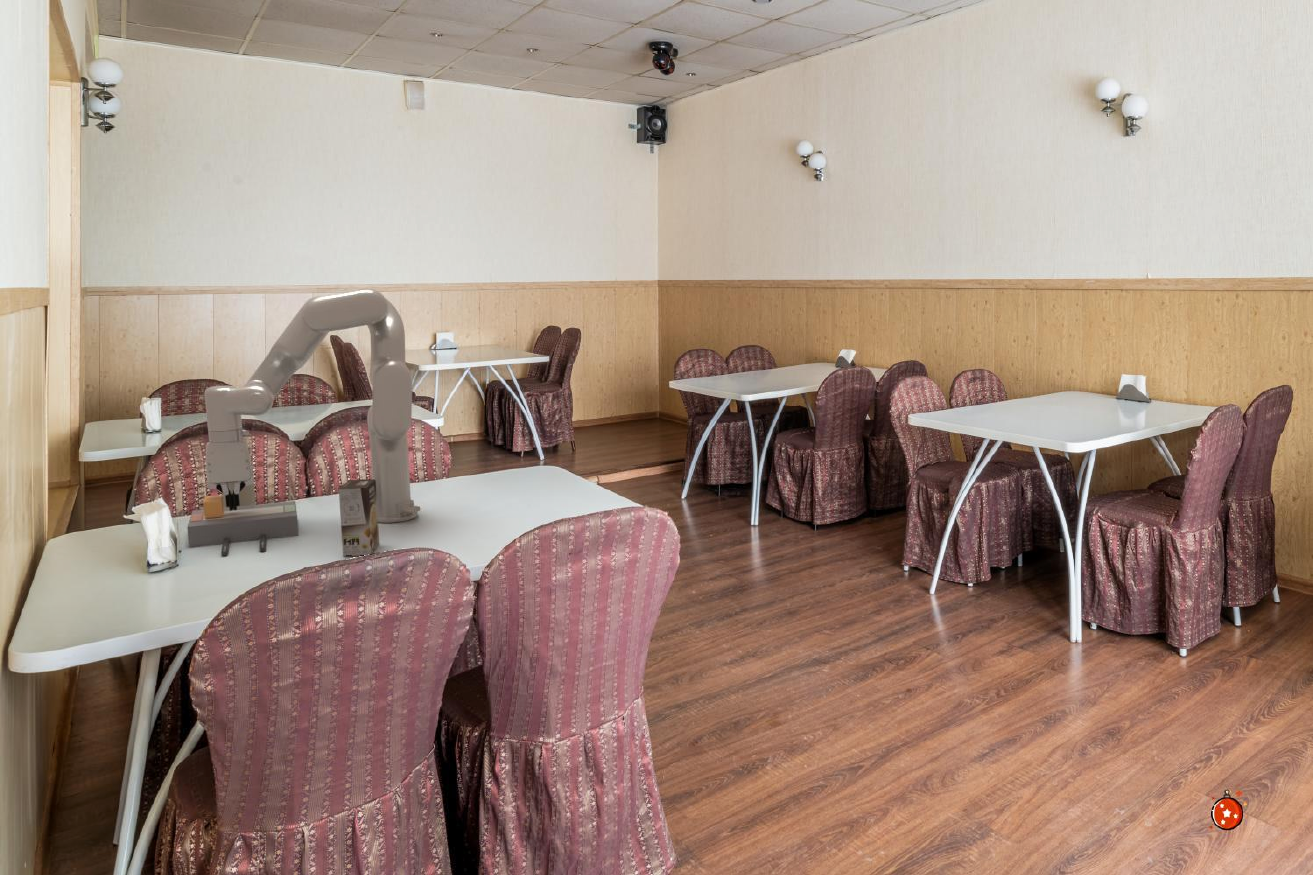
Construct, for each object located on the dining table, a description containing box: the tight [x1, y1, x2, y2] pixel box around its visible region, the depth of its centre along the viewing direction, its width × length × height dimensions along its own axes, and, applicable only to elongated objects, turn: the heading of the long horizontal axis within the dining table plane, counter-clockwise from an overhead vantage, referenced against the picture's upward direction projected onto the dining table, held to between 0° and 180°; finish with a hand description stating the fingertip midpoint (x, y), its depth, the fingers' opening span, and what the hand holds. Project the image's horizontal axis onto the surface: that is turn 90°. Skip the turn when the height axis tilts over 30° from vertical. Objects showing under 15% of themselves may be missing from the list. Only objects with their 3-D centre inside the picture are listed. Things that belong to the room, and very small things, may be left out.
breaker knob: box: [202, 494, 224, 518], centre depth 216 cm, size 4×6×4 cm, turn 23°
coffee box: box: [338, 478, 380, 557], centre depth 203 cm, size 9×6×16 cm
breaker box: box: [186, 500, 299, 557], centre depth 214 cm, size 24×27×5 cm
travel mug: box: [221, 446, 257, 508], centre depth 237 cm, size 8×8×18 cm
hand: (233, 509), depth 218 cm, fingers closed
